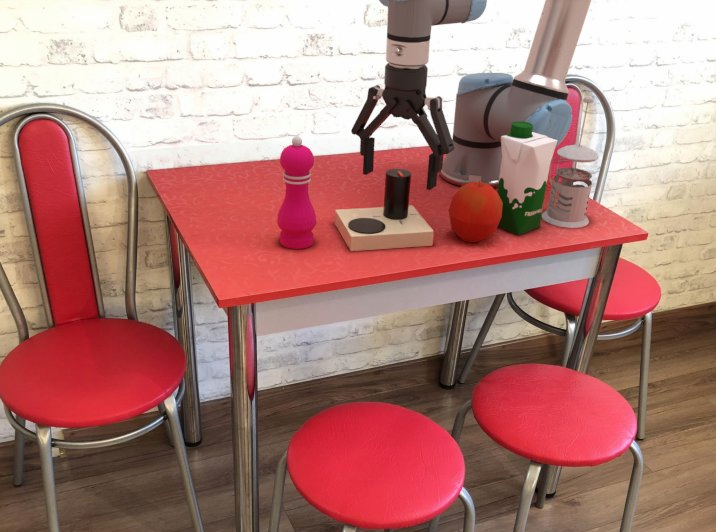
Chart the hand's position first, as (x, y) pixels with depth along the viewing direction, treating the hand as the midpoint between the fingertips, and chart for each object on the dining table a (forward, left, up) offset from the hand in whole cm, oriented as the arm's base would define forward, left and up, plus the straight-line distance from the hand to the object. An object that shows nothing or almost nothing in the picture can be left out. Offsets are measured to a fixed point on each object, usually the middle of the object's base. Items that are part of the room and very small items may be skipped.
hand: (399, 180), depth 151 cm
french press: (-37, -1, -10) cm, 38 cm away
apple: (-14, +6, -10) cm, 18 cm away
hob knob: (0, 0, -7) cm, 7 cm away
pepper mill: (+20, +3, -10) cm, 23 cm away
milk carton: (-25, +2, -10) cm, 27 cm away
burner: (+7, +5, -7) cm, 11 cm away
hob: (+3, +2, -10) cm, 11 cm away
